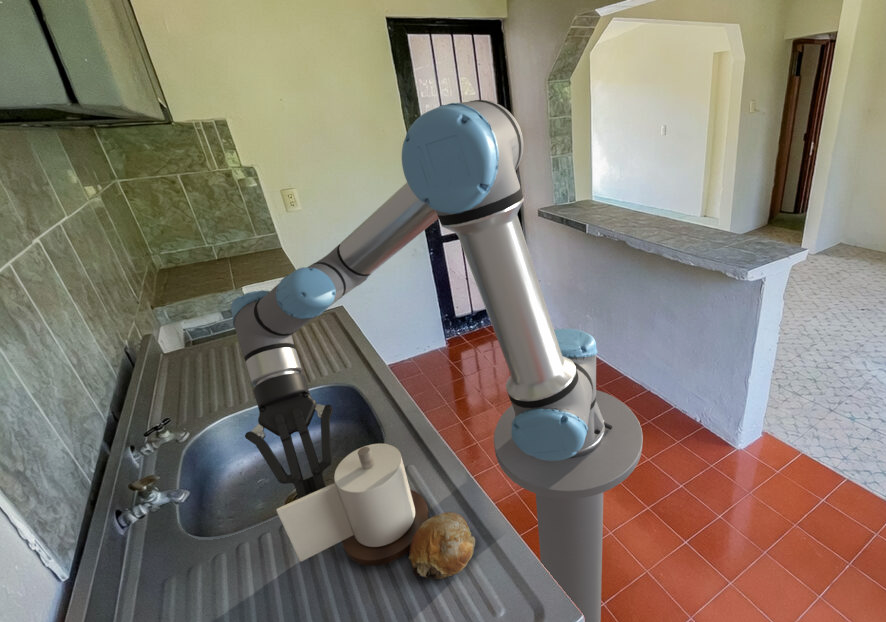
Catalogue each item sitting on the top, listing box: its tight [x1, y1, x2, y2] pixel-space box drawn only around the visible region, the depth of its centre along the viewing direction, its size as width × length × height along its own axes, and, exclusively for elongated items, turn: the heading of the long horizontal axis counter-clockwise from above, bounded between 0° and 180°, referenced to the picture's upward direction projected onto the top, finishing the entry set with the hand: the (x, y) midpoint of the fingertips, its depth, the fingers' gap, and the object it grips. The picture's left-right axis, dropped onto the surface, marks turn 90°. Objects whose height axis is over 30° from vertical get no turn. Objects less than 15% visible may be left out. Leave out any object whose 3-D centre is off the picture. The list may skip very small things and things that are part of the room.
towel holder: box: [341, 446, 430, 567], centre depth 74 cm, size 14×14×18 cm
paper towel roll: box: [276, 443, 415, 563], centre depth 73 cm, size 18×10×12 cm, turn 108°
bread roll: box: [407, 511, 476, 580], centre depth 72 cm, size 10×10×8 cm
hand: (320, 518), depth 71 cm, fingers closed
